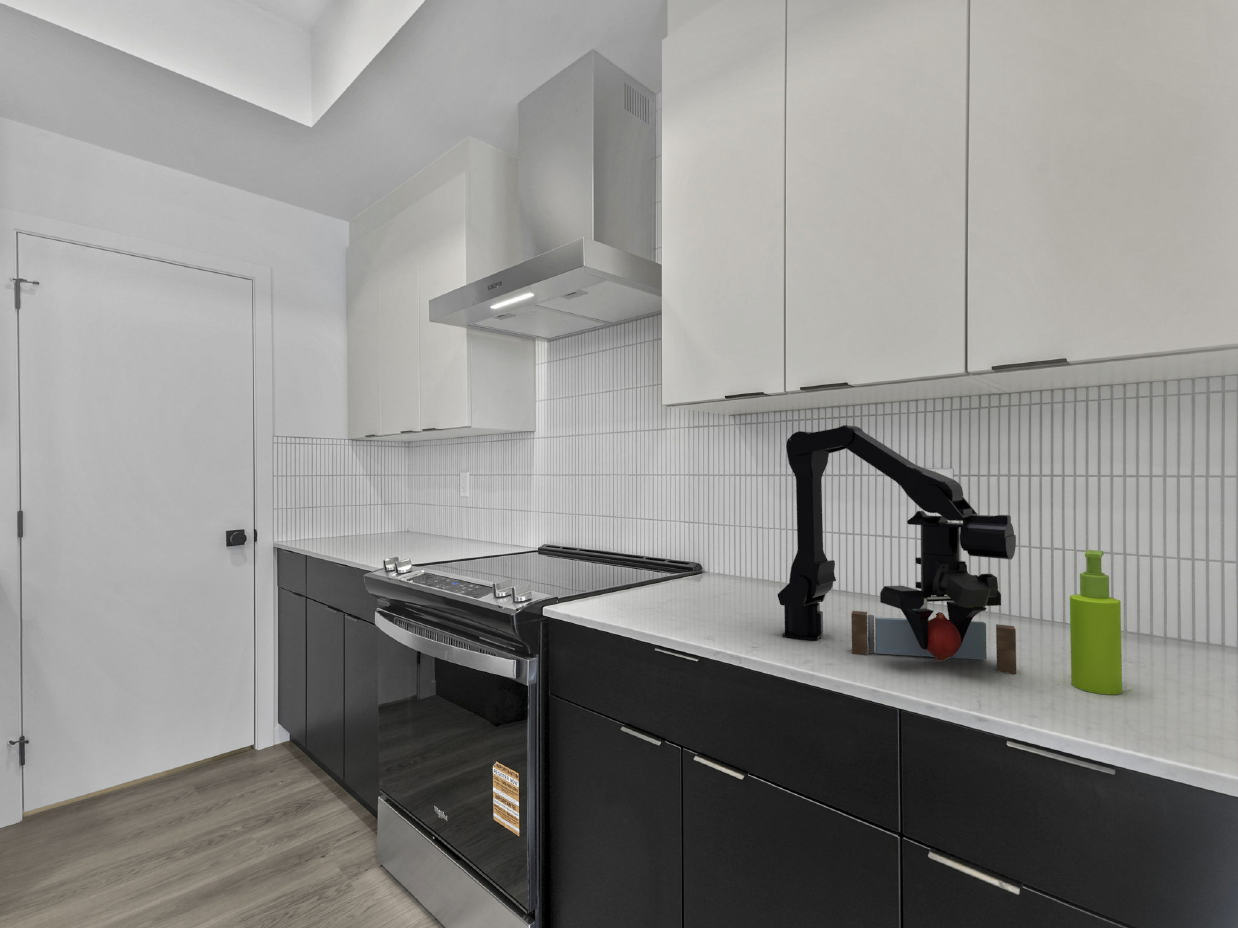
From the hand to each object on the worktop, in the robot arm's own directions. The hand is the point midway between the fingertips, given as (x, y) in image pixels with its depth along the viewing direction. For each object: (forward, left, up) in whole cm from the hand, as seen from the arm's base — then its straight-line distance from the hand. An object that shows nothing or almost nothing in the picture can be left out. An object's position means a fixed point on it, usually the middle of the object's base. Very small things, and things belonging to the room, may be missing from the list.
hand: (940, 648), depth 99 cm
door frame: (-2, +1, -3) cm, 4 cm away
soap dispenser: (+20, -1, -3) cm, 21 cm away
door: (-2, +4, -3) cm, 5 cm away
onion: (0, 0, -2) cm, 2 cm away
